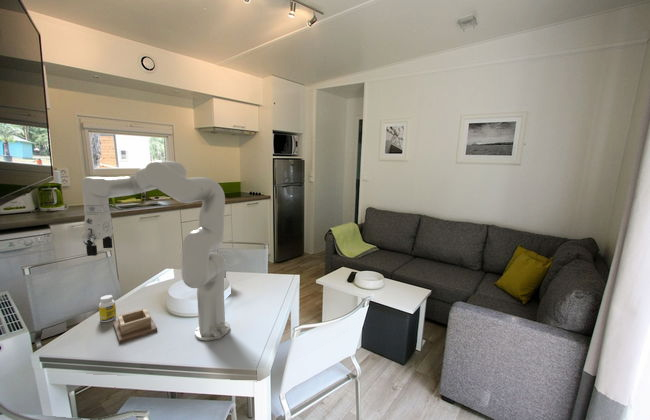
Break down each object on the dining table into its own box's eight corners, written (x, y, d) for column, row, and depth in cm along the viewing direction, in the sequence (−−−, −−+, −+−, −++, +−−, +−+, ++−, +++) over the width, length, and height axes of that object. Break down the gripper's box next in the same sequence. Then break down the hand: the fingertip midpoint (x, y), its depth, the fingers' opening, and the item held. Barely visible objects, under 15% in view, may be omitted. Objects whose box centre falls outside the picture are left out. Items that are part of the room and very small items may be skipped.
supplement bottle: (107, 323, 114) (105, 300, 113) (96, 321, 115) (94, 299, 114) (119, 316, 119) (117, 294, 118) (109, 315, 120) (107, 293, 119)
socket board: (157, 331, 109) (156, 319, 109) (119, 343, 101) (118, 331, 101) (148, 315, 121) (147, 304, 120) (113, 325, 113) (112, 313, 112)
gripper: (93, 213, 101) (96, 258, 104) (120, 205, 118) (122, 245, 120) (69, 212, 100) (74, 258, 102) (100, 205, 117) (103, 245, 119)
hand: (100, 251), depth 111 cm, fingers open, 9 cm apart
